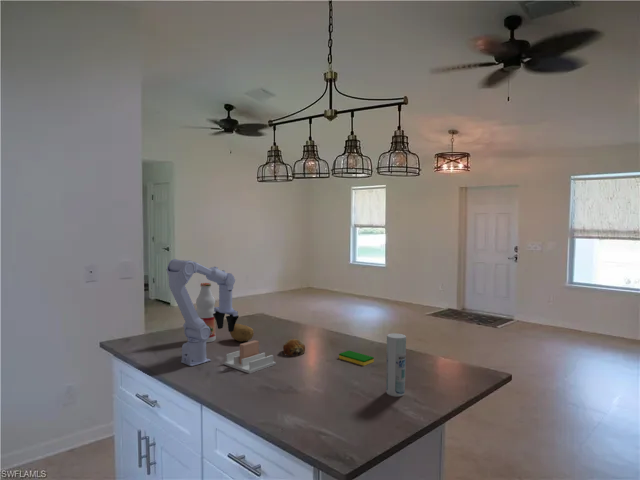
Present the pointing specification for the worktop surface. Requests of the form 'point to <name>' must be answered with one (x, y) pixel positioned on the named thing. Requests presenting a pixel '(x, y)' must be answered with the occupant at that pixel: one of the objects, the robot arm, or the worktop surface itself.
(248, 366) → the dish rack
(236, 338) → the potato
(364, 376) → the worktop surface
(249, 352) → the tile
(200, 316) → the fruit juice
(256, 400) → the worktop surface
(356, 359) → the dish sponge
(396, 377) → the spray can
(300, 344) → the bread roll
